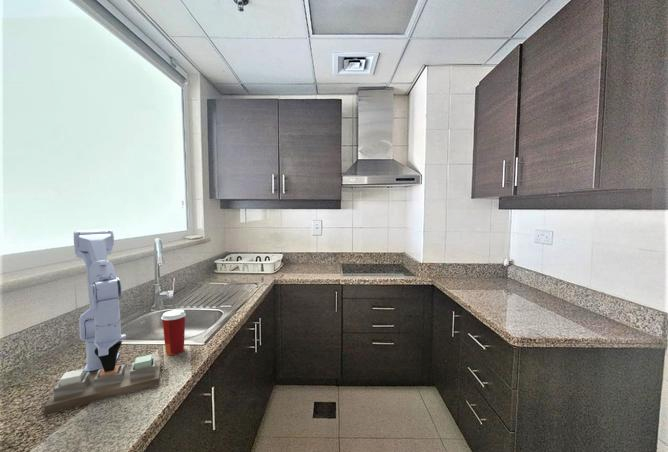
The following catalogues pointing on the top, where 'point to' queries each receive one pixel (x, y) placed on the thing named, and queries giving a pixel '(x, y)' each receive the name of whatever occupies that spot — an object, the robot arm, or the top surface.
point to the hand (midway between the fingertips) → (109, 370)
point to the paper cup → (174, 331)
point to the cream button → (72, 377)
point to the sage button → (143, 362)
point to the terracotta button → (110, 372)
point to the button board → (103, 386)
